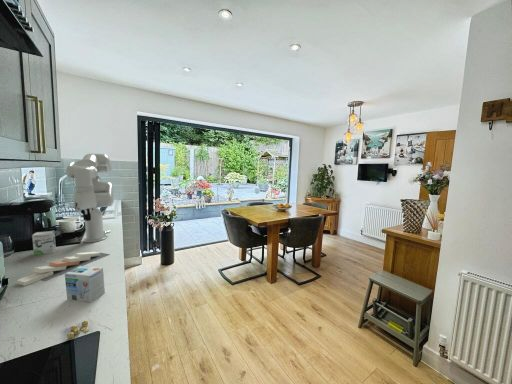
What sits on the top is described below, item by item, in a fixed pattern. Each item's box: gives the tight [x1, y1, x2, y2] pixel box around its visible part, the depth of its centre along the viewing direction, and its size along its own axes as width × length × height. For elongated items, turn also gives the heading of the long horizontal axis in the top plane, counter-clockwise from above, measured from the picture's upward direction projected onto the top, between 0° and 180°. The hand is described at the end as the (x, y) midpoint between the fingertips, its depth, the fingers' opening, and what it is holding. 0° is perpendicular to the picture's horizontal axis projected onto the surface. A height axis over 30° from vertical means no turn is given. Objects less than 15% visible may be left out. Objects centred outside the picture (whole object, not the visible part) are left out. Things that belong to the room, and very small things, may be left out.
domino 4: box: [74, 251, 102, 258], centre depth 116 cm, size 2×5×10 cm
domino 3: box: [62, 255, 91, 262], centre depth 111 cm, size 2×5×10 cm
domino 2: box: [32, 265, 66, 273], centre depth 100 cm, size 2×5×10 cm
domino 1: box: [16, 271, 53, 287], centre depth 96 cm, size 2×5×10 cm
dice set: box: [66, 320, 90, 341], centre depth 67 cm, size 5×5×2 cm
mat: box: [40, 251, 111, 282], centre depth 110 cm, size 30×12×1 cm, turn 162°
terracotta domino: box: [48, 260, 80, 267], centre depth 106 cm, size 2×5×10 cm
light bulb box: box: [64, 265, 106, 304], centre depth 84 cm, size 11×7×11 cm, turn 82°
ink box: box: [31, 230, 57, 256], centre depth 124 cm, size 9×5×12 cm, turn 120°
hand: (87, 220), depth 125 cm, fingers closed
